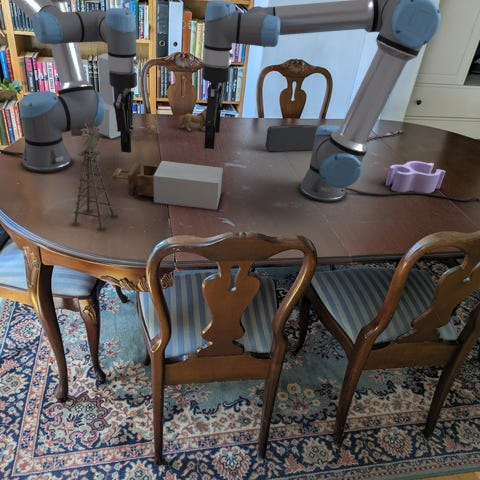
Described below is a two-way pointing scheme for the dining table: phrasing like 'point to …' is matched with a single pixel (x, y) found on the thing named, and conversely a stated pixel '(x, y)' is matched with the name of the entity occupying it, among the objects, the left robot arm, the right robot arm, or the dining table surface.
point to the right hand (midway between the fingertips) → (212, 139)
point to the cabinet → (188, 185)
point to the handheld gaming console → (290, 137)
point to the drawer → (139, 179)
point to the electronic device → (107, 100)
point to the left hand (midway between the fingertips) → (126, 151)
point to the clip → (414, 177)
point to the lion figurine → (194, 120)
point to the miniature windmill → (85, 153)
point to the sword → (384, 135)
